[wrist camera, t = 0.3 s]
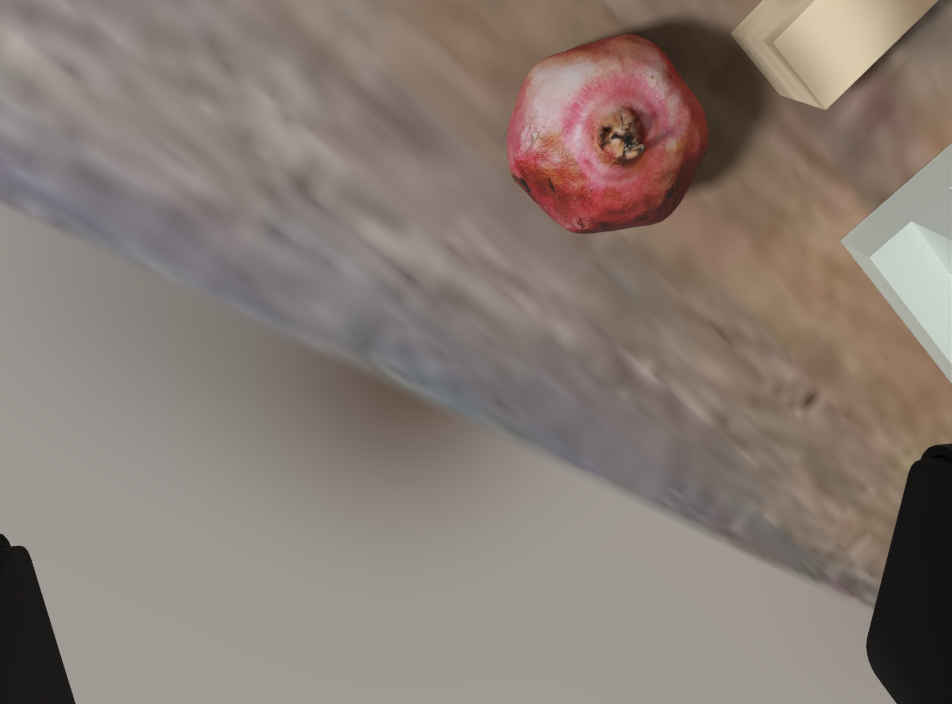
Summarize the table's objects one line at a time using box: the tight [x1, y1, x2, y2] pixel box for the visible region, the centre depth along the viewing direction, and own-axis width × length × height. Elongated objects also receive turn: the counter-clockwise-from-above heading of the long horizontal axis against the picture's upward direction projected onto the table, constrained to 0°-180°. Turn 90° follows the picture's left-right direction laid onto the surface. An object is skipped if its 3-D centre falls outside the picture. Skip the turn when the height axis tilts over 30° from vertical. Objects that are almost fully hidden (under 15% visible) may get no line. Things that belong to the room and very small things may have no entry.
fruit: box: [507, 34, 709, 234], centre depth 39 cm, size 9×10×10 cm
